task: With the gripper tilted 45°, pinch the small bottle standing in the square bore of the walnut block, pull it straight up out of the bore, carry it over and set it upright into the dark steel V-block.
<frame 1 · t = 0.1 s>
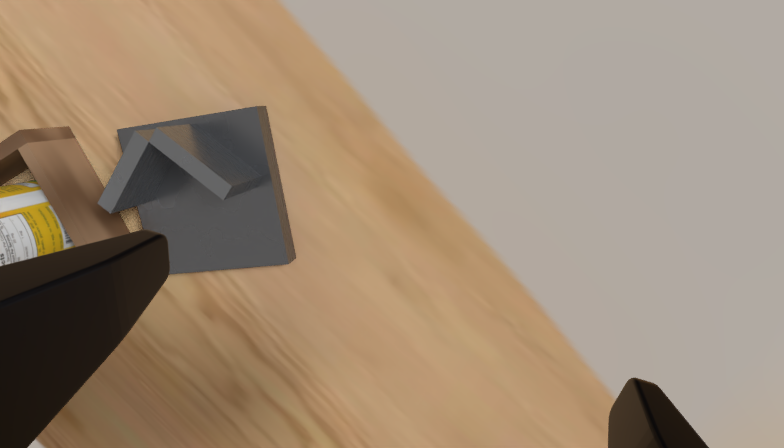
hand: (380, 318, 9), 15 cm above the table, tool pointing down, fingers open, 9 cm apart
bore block: (57, 223, 29), on the table
supplement bottle: (60, 222, 30), resting in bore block
v-block: (213, 193, 27), on the table
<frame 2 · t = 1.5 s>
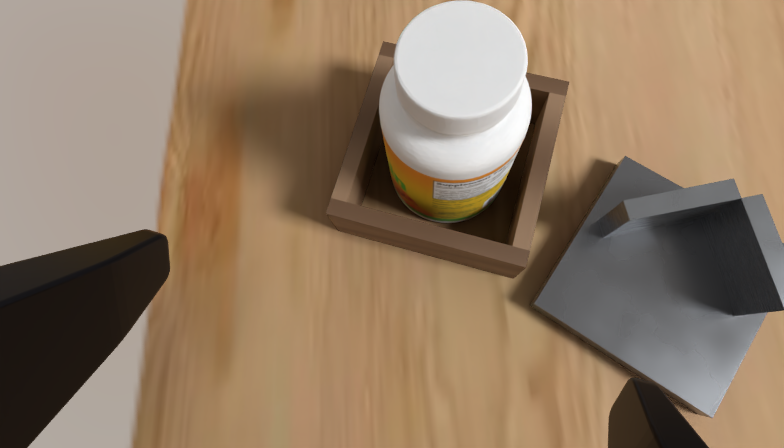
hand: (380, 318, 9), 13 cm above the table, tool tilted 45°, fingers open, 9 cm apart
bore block: (446, 171, 24), on the table
supplement bottle: (446, 173, 24), resting in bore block
v-block: (655, 281, 22), on the table
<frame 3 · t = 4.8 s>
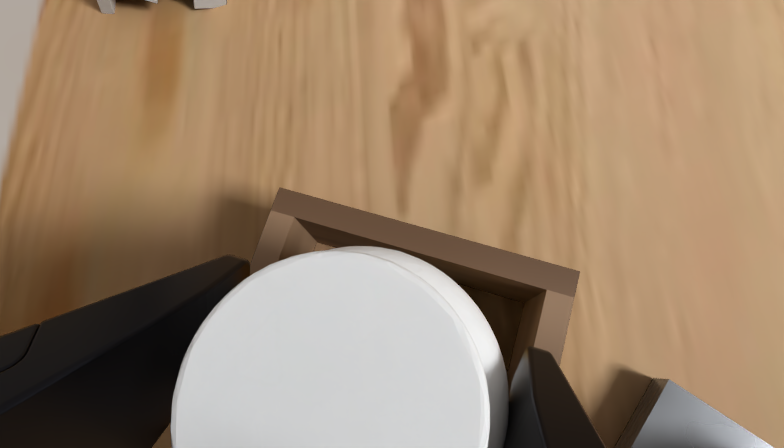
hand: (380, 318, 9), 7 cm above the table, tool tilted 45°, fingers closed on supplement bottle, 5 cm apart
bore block: (385, 379, 15), on the table
supplement bottle: (386, 379, 16), resting in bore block, touching gripper
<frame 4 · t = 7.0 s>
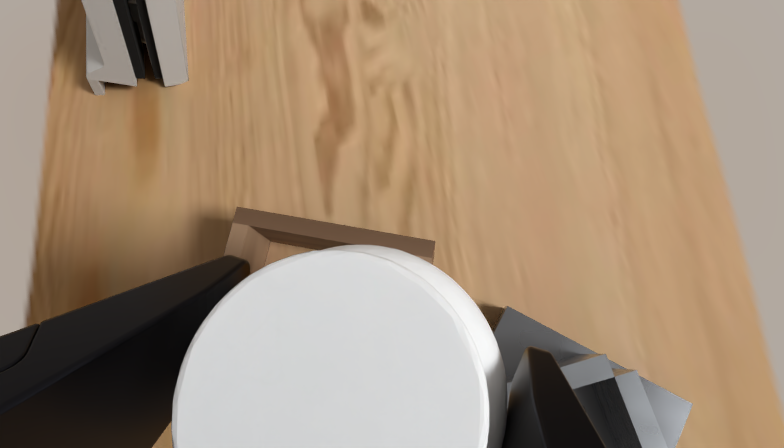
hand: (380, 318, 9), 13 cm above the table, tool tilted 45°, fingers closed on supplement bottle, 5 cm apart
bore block: (325, 329, 22), on the table
supplement bottle: (384, 376, 16), point 6 cm above the table, touching gripper
v-block: (549, 440, 21), on the table
when the fingers open (9 cm above the table, at t = 9.4 s): supplement bottle drops 1 cm, resting on v-block.
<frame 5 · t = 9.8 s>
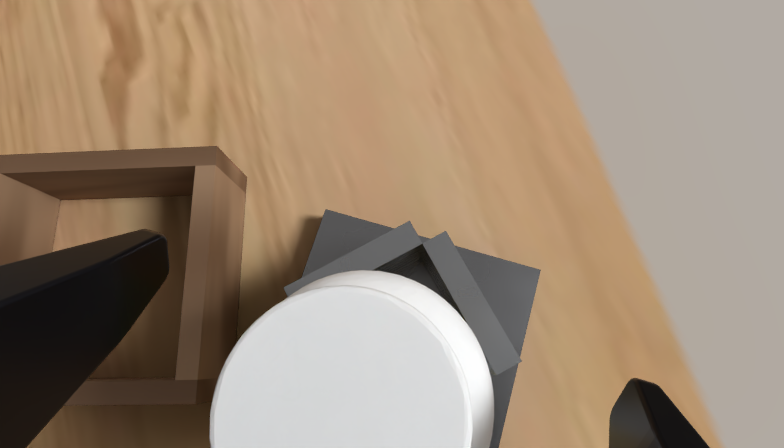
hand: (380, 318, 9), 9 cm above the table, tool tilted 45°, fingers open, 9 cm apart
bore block: (133, 283, 19), on the table
supplement bottle: (387, 380, 17), point 1 cm above the table, touching v-block
v-block: (398, 349, 18), on the table
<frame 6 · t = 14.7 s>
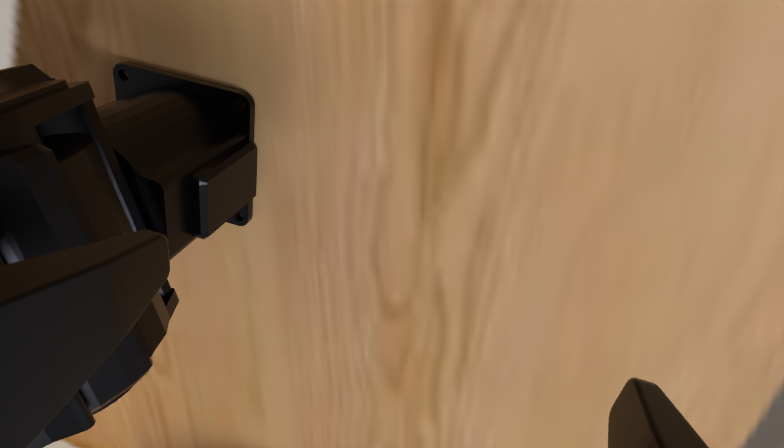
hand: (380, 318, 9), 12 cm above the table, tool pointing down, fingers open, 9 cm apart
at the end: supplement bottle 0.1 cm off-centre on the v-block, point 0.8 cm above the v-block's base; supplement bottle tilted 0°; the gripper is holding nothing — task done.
